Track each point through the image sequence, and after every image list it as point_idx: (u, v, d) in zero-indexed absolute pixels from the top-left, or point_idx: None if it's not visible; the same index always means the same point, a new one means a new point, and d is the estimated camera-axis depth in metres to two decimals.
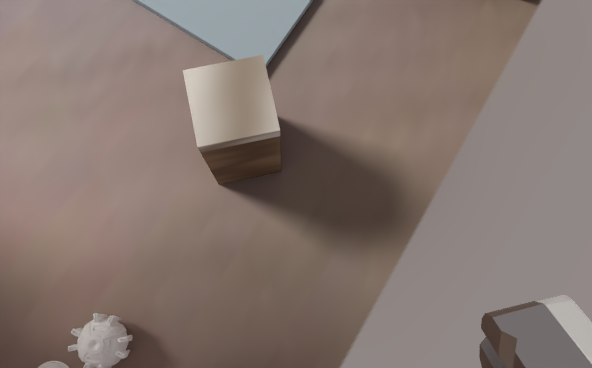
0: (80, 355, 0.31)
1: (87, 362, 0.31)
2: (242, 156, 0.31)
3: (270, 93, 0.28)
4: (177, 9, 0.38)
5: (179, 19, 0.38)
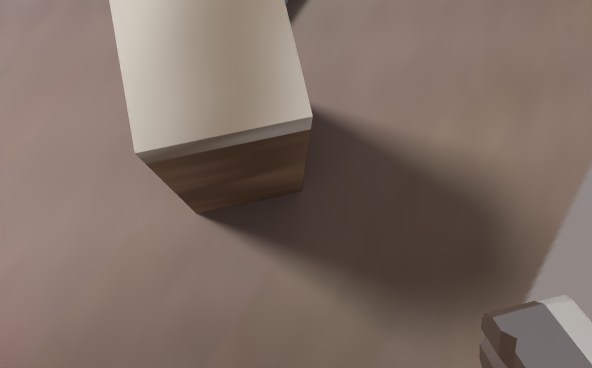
0: None
1: None
2: (233, 169, 0.16)
3: (291, 39, 0.13)
4: None
5: None
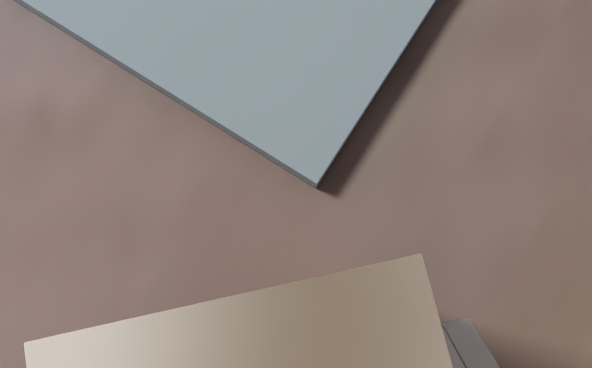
0: None
1: None
2: None
3: None
4: (113, 19, 0.16)
5: (117, 44, 0.15)
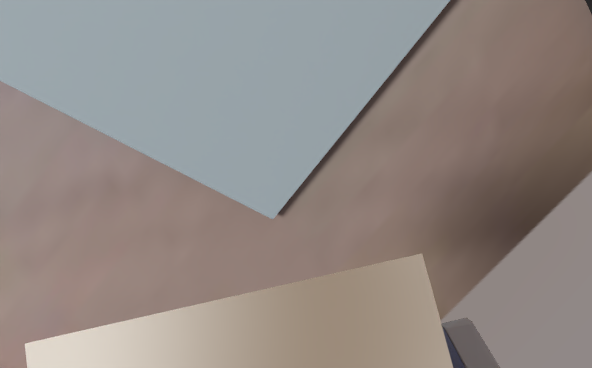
0: None
1: None
2: None
3: None
4: (149, 135, 0.24)
5: (154, 151, 0.25)
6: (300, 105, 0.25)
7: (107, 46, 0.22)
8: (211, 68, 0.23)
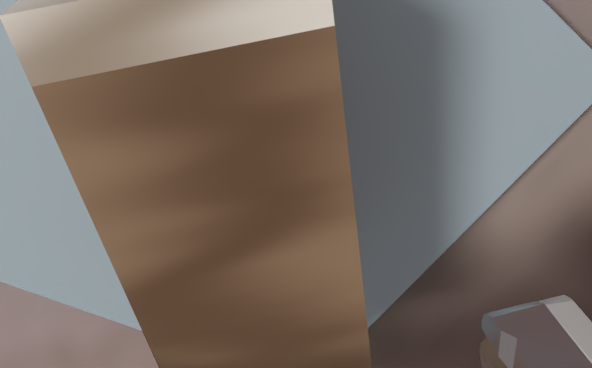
0: None
1: None
2: (217, 195, 0.09)
3: None
4: (120, 296, 0.15)
5: (129, 316, 0.16)
6: None
7: (44, 175, 0.13)
8: None
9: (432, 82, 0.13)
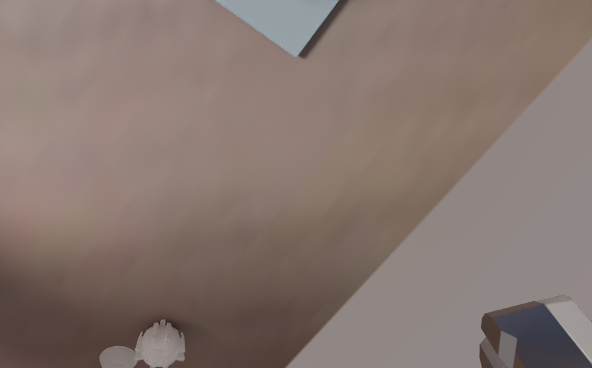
0: (147, 363, 0.38)
1: (153, 365, 0.38)
2: None
3: None
4: None
5: None
6: None
7: None
8: None
9: None
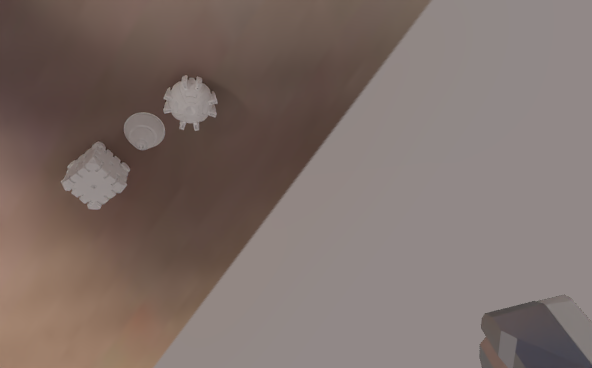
0: (177, 117, 0.35)
1: (183, 121, 0.35)
2: None
3: None
4: None
5: None
6: None
7: None
8: None
9: None
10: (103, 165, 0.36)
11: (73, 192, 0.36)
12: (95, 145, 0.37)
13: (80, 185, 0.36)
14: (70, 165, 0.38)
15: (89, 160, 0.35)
